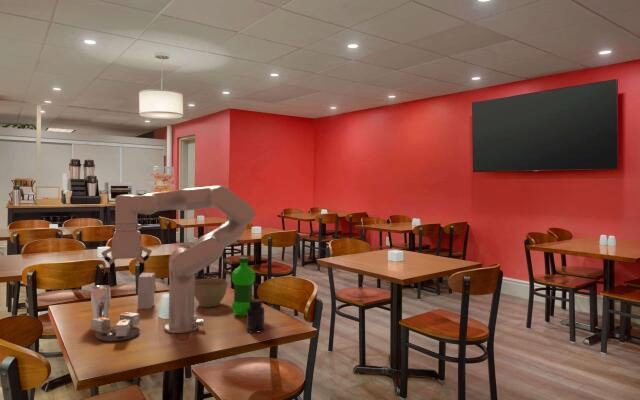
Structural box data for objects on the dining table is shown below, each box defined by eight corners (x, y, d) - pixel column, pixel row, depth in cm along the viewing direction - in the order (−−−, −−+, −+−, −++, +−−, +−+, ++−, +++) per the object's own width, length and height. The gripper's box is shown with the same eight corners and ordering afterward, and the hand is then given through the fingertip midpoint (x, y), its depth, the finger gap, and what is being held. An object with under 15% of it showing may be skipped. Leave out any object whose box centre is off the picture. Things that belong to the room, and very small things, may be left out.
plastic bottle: (250, 318, 194) (251, 260, 193) (227, 316, 196) (228, 259, 195) (257, 312, 204) (258, 256, 203) (235, 310, 205) (236, 255, 204)
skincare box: (141, 304, 212) (141, 272, 211) (155, 304, 213) (155, 272, 212) (137, 309, 203) (137, 276, 203) (151, 309, 204) (151, 276, 204)
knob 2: (115, 338, 162) (115, 324, 162) (119, 333, 168) (119, 319, 167) (126, 338, 162) (126, 324, 162) (130, 332, 168) (130, 319, 168)
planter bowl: (232, 301, 220) (233, 279, 220) (217, 310, 204) (218, 286, 204) (202, 299, 224) (202, 277, 223) (185, 307, 208) (185, 284, 208)
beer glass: (102, 327, 178) (102, 289, 177) (86, 326, 179) (87, 288, 178) (114, 322, 184) (114, 285, 184) (98, 320, 186) (99, 284, 185)
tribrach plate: (146, 329, 177) (146, 324, 177) (127, 343, 162) (127, 337, 162) (109, 327, 178) (109, 322, 178) (86, 341, 163) (86, 335, 163)
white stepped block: (132, 328, 173) (132, 315, 172) (119, 326, 175) (120, 313, 174) (139, 326, 176) (139, 313, 176) (126, 324, 178) (126, 311, 178)
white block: (99, 328, 172) (99, 315, 171) (110, 331, 169) (110, 318, 168) (91, 331, 168) (91, 317, 168) (101, 334, 166) (101, 320, 165)
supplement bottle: (257, 326, 184) (257, 297, 183) (267, 330, 179) (268, 300, 178) (243, 330, 179) (243, 299, 178) (253, 334, 174) (254, 303, 174)
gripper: (152, 226, 176) (152, 270, 176) (103, 227, 171) (104, 272, 172) (150, 228, 168) (150, 274, 169) (99, 229, 164) (100, 276, 165)
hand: (127, 273), depth 171 cm, fingers open, 9 cm apart
